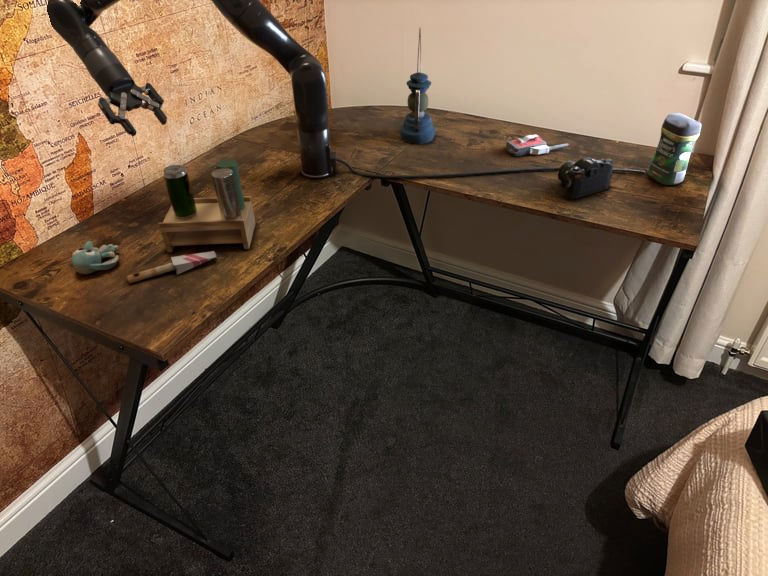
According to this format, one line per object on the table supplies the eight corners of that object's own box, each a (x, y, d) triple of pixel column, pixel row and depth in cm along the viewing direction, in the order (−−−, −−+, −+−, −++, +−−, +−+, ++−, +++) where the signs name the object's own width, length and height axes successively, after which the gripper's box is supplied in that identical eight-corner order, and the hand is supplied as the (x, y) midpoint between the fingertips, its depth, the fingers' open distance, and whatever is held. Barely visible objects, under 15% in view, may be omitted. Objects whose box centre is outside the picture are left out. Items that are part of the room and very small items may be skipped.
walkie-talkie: (515, 160, 173) (569, 149, 178) (517, 147, 170) (571, 136, 176) (501, 149, 179) (553, 139, 185) (502, 136, 177) (555, 127, 182)
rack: (255, 223, 145) (243, 156, 134) (249, 249, 136) (235, 179, 124) (179, 226, 145) (159, 159, 133) (167, 252, 135) (145, 182, 124)
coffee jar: (641, 174, 164) (660, 112, 153) (663, 169, 166) (683, 108, 155) (665, 188, 157) (686, 125, 145) (687, 183, 159) (709, 121, 147)
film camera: (574, 171, 166) (581, 140, 160) (613, 185, 159) (621, 152, 153) (541, 192, 156) (547, 159, 150) (581, 207, 149) (589, 174, 143)
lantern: (402, 129, 194) (403, 21, 172) (436, 130, 193) (440, 21, 171) (397, 145, 183) (397, 32, 161) (433, 147, 182) (438, 33, 160)
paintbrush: (215, 253, 129) (127, 279, 123) (218, 262, 131) (131, 288, 125) (212, 244, 132) (125, 270, 126) (215, 254, 134) (129, 279, 128)
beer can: (178, 222, 133) (165, 176, 126) (172, 212, 137) (159, 168, 129) (200, 215, 135) (189, 170, 128) (193, 206, 139) (181, 162, 132)
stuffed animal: (130, 234, 132) (90, 253, 122) (134, 262, 135) (96, 282, 125) (95, 227, 135) (53, 244, 125) (100, 253, 138) (60, 272, 128)
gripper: (82, 70, 126) (127, 130, 127) (137, 55, 134) (178, 111, 136) (78, 89, 131) (121, 146, 133) (131, 74, 140) (171, 127, 142)
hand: (150, 128), depth 134 cm, fingers open, 8 cm apart
